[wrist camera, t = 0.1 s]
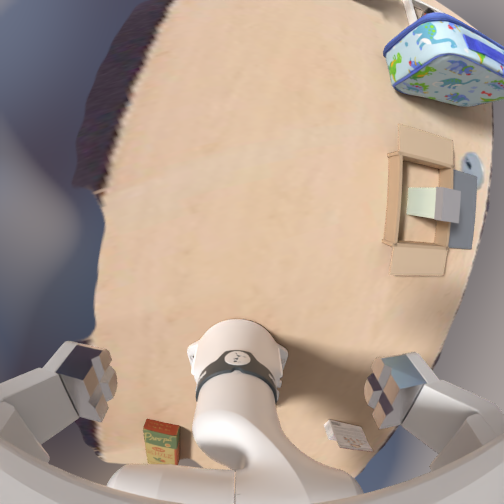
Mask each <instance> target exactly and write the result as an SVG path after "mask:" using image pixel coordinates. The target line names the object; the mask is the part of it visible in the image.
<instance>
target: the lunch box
mask: <svg viewBox="0 0 504 504" xmlns="http://www.w3.org/2000/svg"><path fill="white" fill-rule="evenodd" d="M383 56H384V57H385V58H386V61H387V65H388V69H389V73H390V78H391V83H392V86H393V87H394V89H396V90H397V91H399V92H401V93H404V94H408V95H415V96H420V97H425V98H429V99H433V100H437V101H440V102H445V103H449V104H452V105H456V106H475V105H479V104H484V103H490V102H495V101H499V100H504V47H503V46H502V45H500V44H498V43H497V42H495V41H493V40H492V39H490V38H488V37H487V36H485V35H484V34H482V33H480V32H479V31H477V30H475V29H474V28H472V27H470V26H468V25H466V24H465V23H463V22H461V21H459V20H457V19H456V18H454V17H452V16H450V15H447V14H445V13H440V12H434V13H429V14H426V15H424V16H422V17H421V18H419V19H418V20H417V21H415V22H414V23H412V24H411V25H410V26H408V27H407V28H406V29H404V30H403V31H402V32H401V33H400V34H398V35H397V36H396V37H395V38H393V39H392V40H391V41H390V42H389V43H388V44H387V45H386V46H385V48H384V51H383Z"/></svg>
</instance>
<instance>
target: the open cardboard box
mask: <svg viewBox="0 0 504 504" xmlns="http://www.w3.org/2000/svg"><path fill="white" fill-rule="evenodd" d="M398 138H399V151H396V152H392V153H388V154H387V157H389V172H388V195H387V210H386V222H385V232H384V239H382V243H385V244H387V245H390V246H392V247H393V249H392V256H391V263H390V270H389V275H415V276H443V275H444V269H445V263H446V257H447V250H449V247H448V243H449V235H450V226H451V222H446V221H440V220H437V222H436V232H435V241H434V243H426V242H413V241H400V240H398V232H399V221H400V210H401V194H402V168H403V160H405V161H409V162H414V163H418V164H422V165H426V166H430V167H434V168H438V169H439V187H445V188H449V189H453V169H455V167H454V166H453V140H450V139H447V138H444V137H441V136H438V135H435V134H432V133H429V132H426V131H423V130H420V129H416V128H413V127H409V126H406V125H402V124H398Z"/></svg>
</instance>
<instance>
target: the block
mask: <svg viewBox="0 0 504 504" xmlns="http://www.w3.org/2000/svg"><path fill="white" fill-rule="evenodd" d="M460 200H461V191H458V190H454V189H449V188H445V187H436V188H408V199H407V213H406V214H408V215H414V216H420V217H426V218H432V219H434V220H440V221H446V222H453V223H459V215H460Z"/></svg>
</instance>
